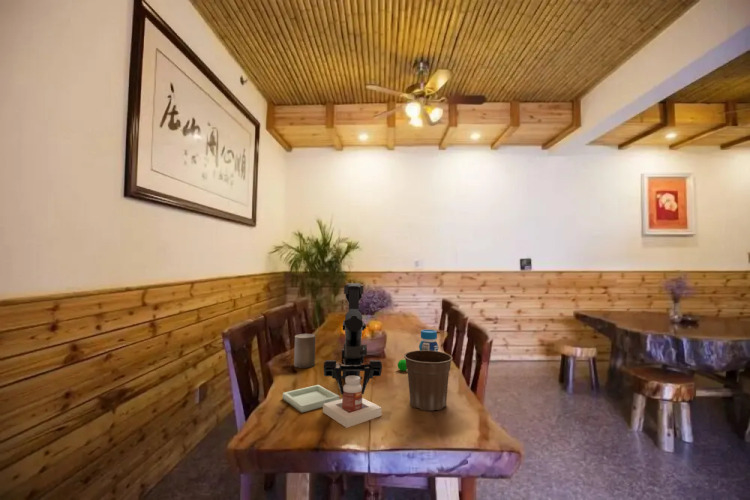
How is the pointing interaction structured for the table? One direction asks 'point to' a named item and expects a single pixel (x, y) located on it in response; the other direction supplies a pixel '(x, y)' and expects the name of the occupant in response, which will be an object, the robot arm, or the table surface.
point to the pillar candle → (304, 350)
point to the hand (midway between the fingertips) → (352, 393)
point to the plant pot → (428, 378)
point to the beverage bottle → (428, 340)
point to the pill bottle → (352, 394)
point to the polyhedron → (402, 365)
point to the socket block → (352, 418)
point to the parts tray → (309, 398)
